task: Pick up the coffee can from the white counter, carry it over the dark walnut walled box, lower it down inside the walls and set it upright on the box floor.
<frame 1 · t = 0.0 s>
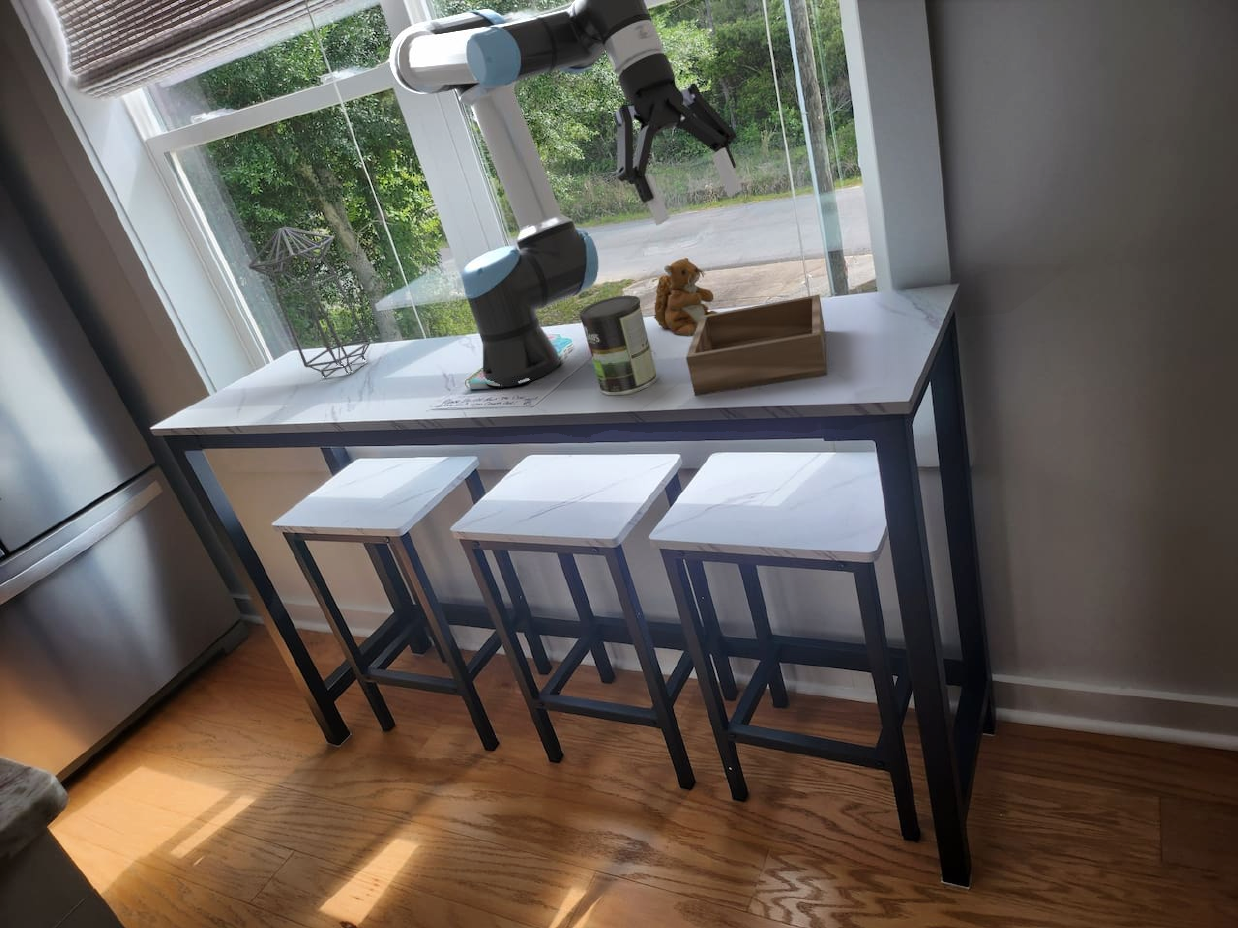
hand: (700, 207, 123), 28 cm above the table, tool tilted 20°, fingers open, 13 cm apart
coffee can: (629, 384, 147), on the table
stuffed squirrel: (684, 326, 170), on the table
walnut box: (762, 361, 141), on the table
geometric lantern: (342, 372, 205), on the table
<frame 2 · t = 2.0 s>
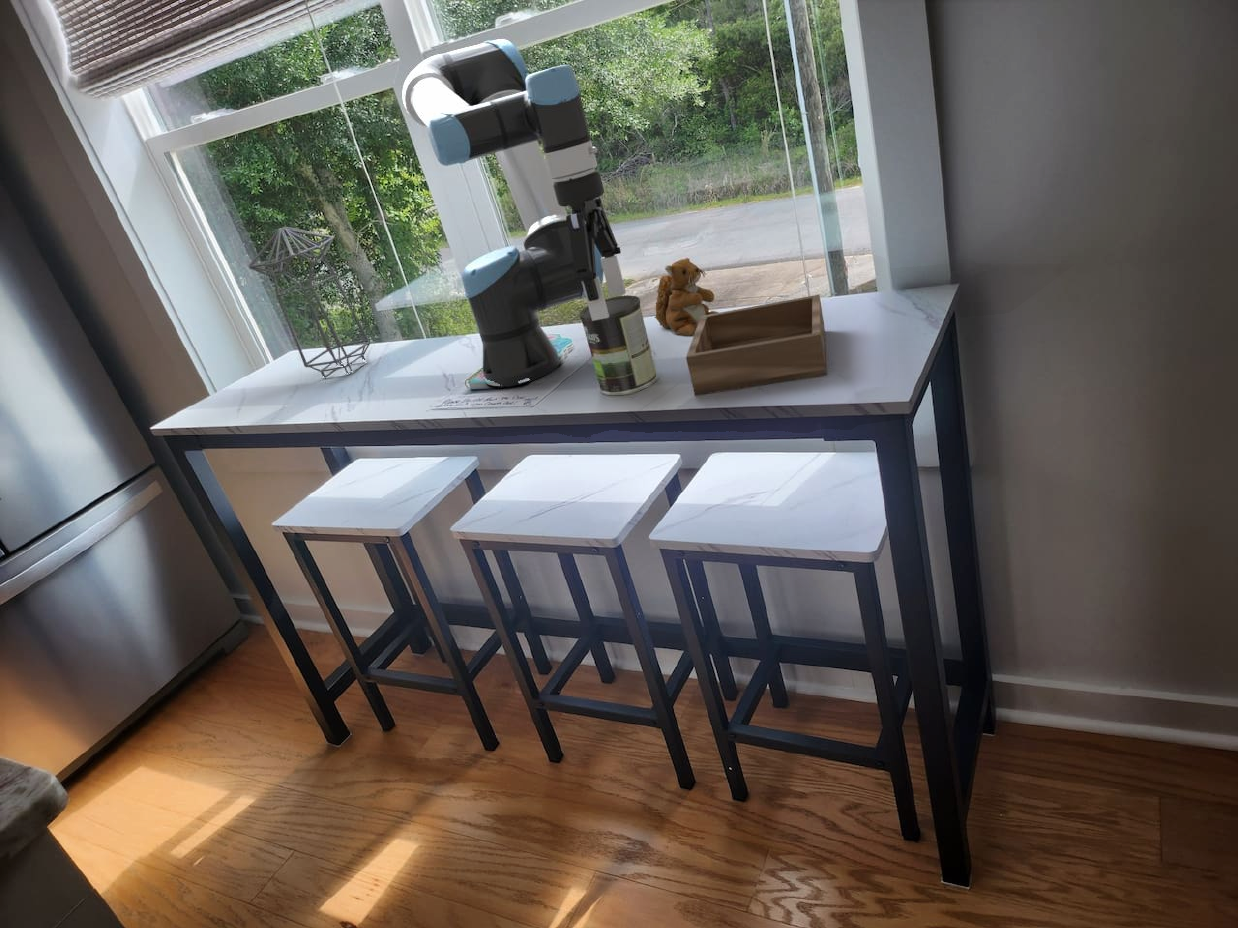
hand: (609, 306, 141), 14 cm above the table, tool pointing down, fingers open, 13 cm apart
nothing on the table moved.
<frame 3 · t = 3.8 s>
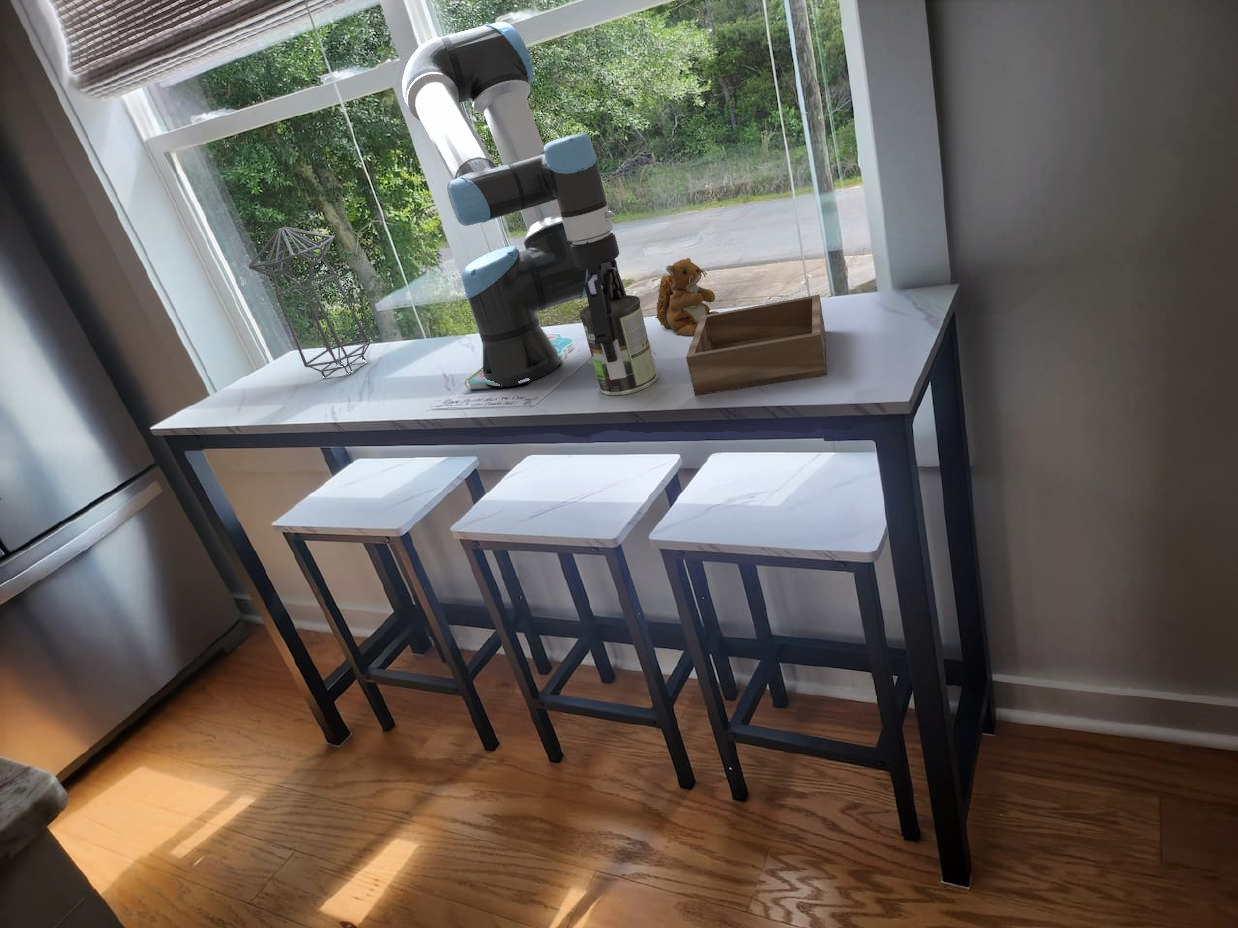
hand: (624, 366, 146), 3 cm above the table, tool pointing down, fingers closed on coffee can, 10 cm apart
coffee can: (629, 384, 147), on the table, touching gripper
everything else where it was.
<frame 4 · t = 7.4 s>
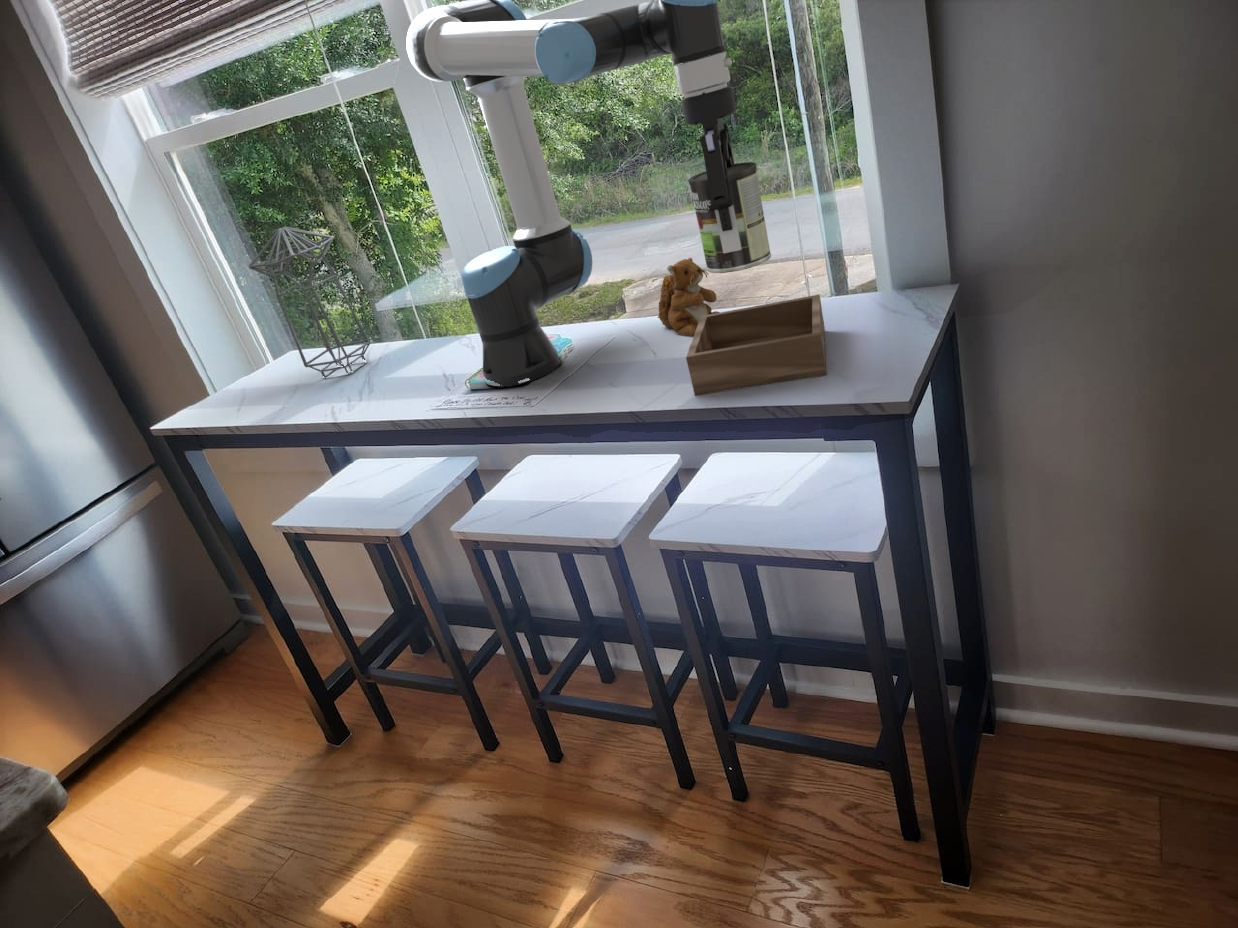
hand: (735, 242, 132), 20 cm above the table, tool pointing down, fingers closed on coffee can, 10 cm apart
coffee can: (739, 264, 134), point 17 cm above the table, touching gripper
everything else where it was.
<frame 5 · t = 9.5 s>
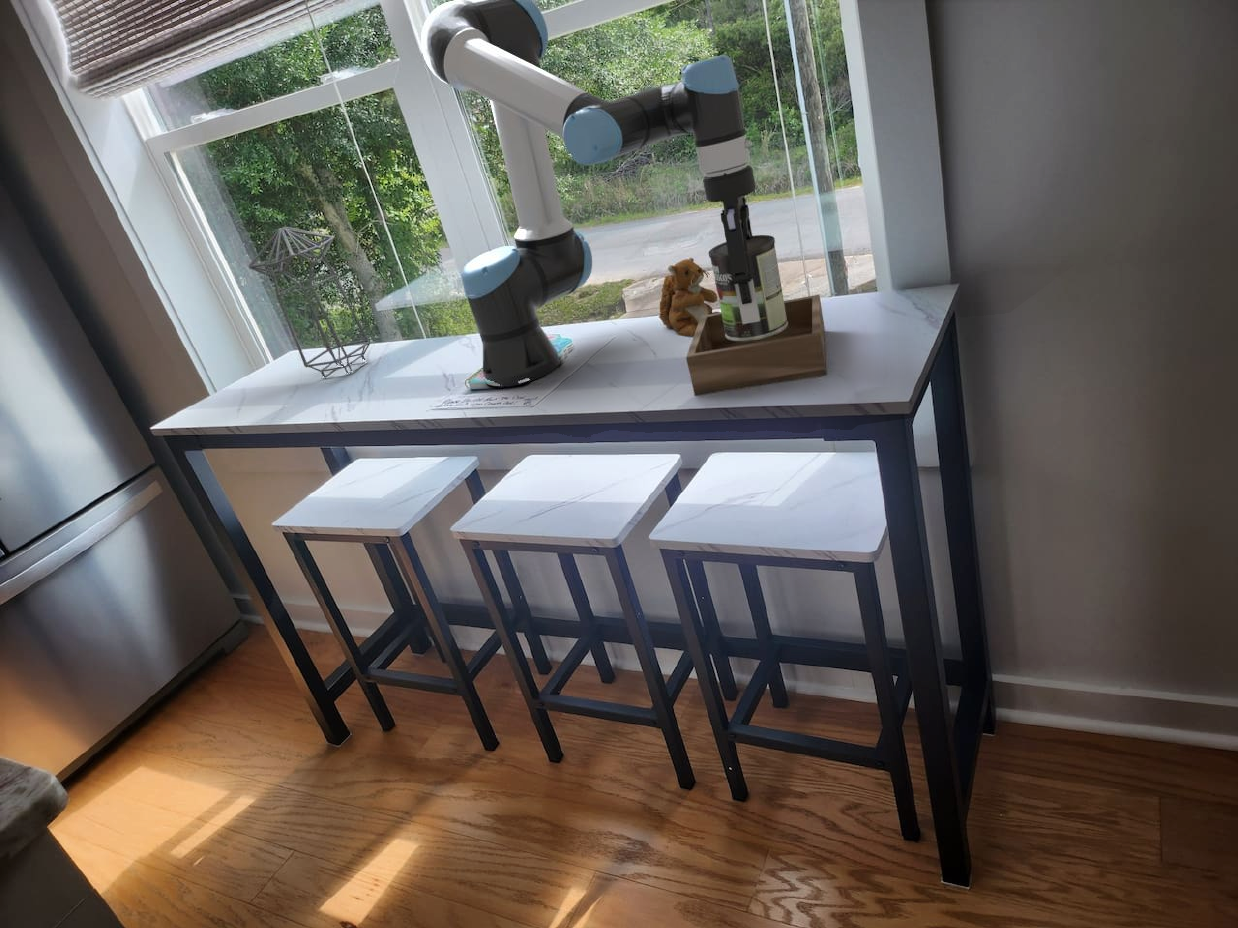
hand: (753, 311, 137), 9 cm above the table, tool pointing down, fingers closed on coffee can, 10 cm apart
coffee can: (757, 331, 138), point 5 cm above the table, touching gripper
when the fingers open (6 cm above the table, at t = 11.0 s): coffee can drops 2 cm, resting on walnut box.
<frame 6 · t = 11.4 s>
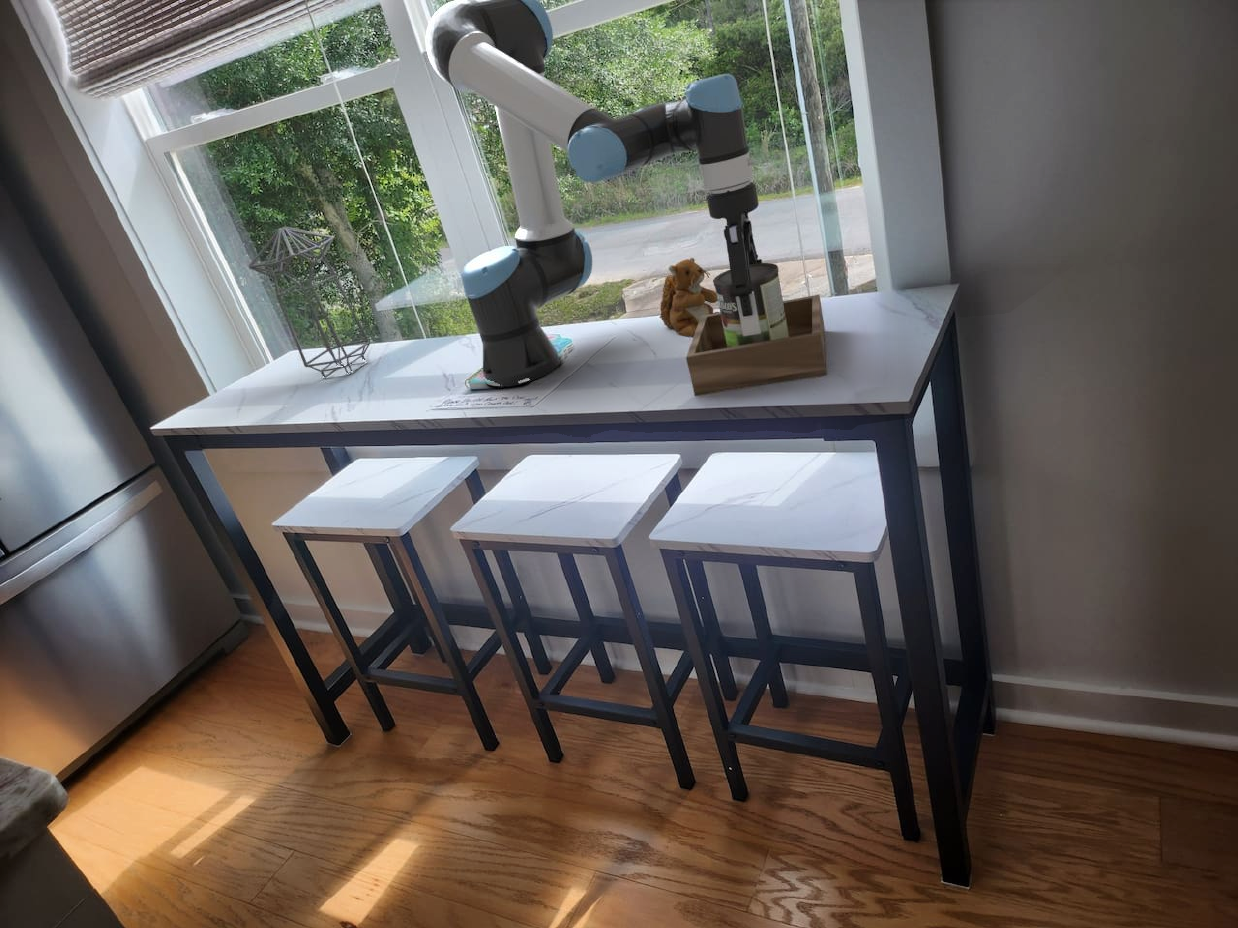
hand: (754, 320, 138), 7 cm above the table, tool pointing down, fingers open, 13 cm apart
coffee can: (761, 357, 140), point 1 cm above the table, touching walnut box
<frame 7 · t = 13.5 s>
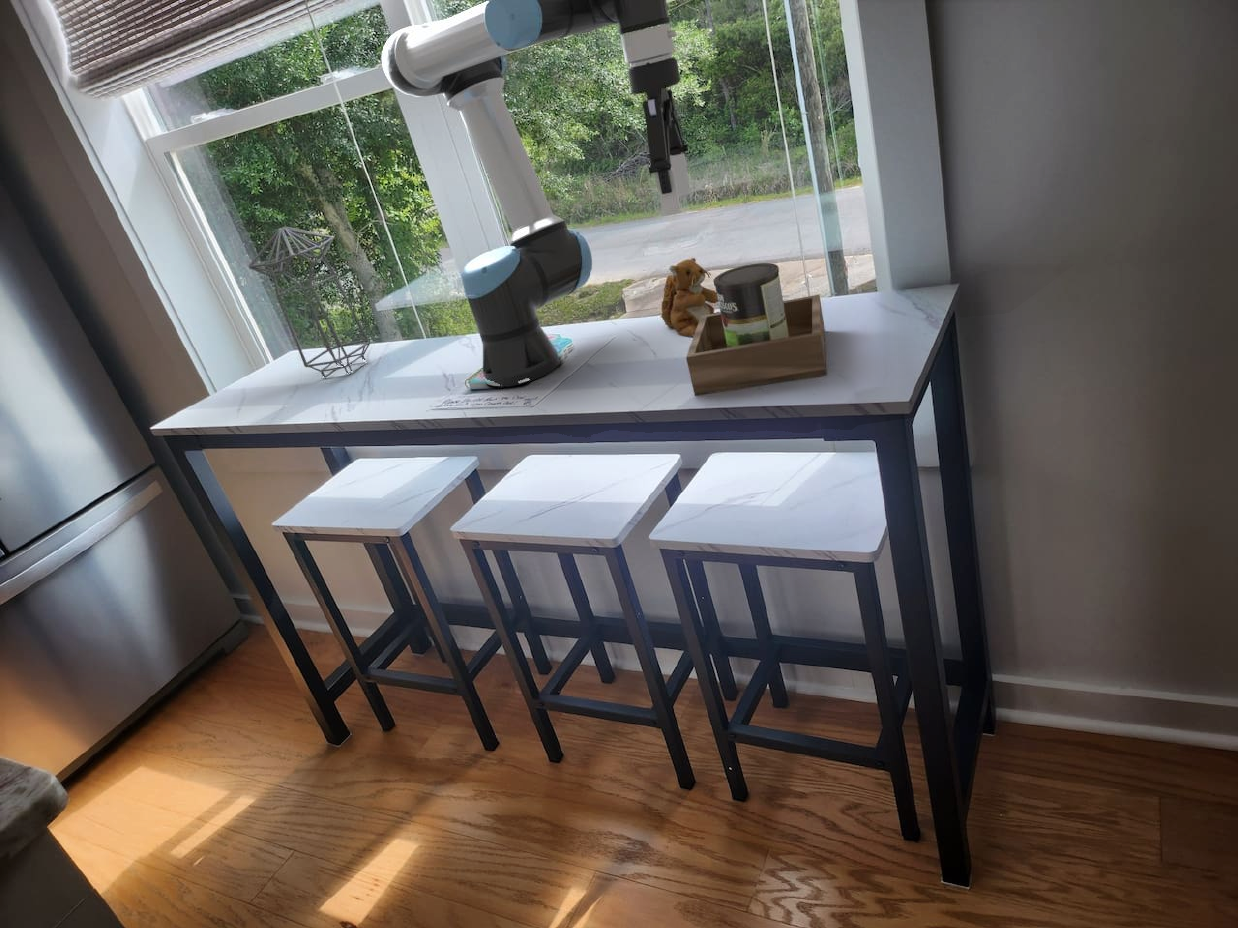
hand: (677, 204, 137), 27 cm above the table, tool pointing down, fingers open, 13 cm apart
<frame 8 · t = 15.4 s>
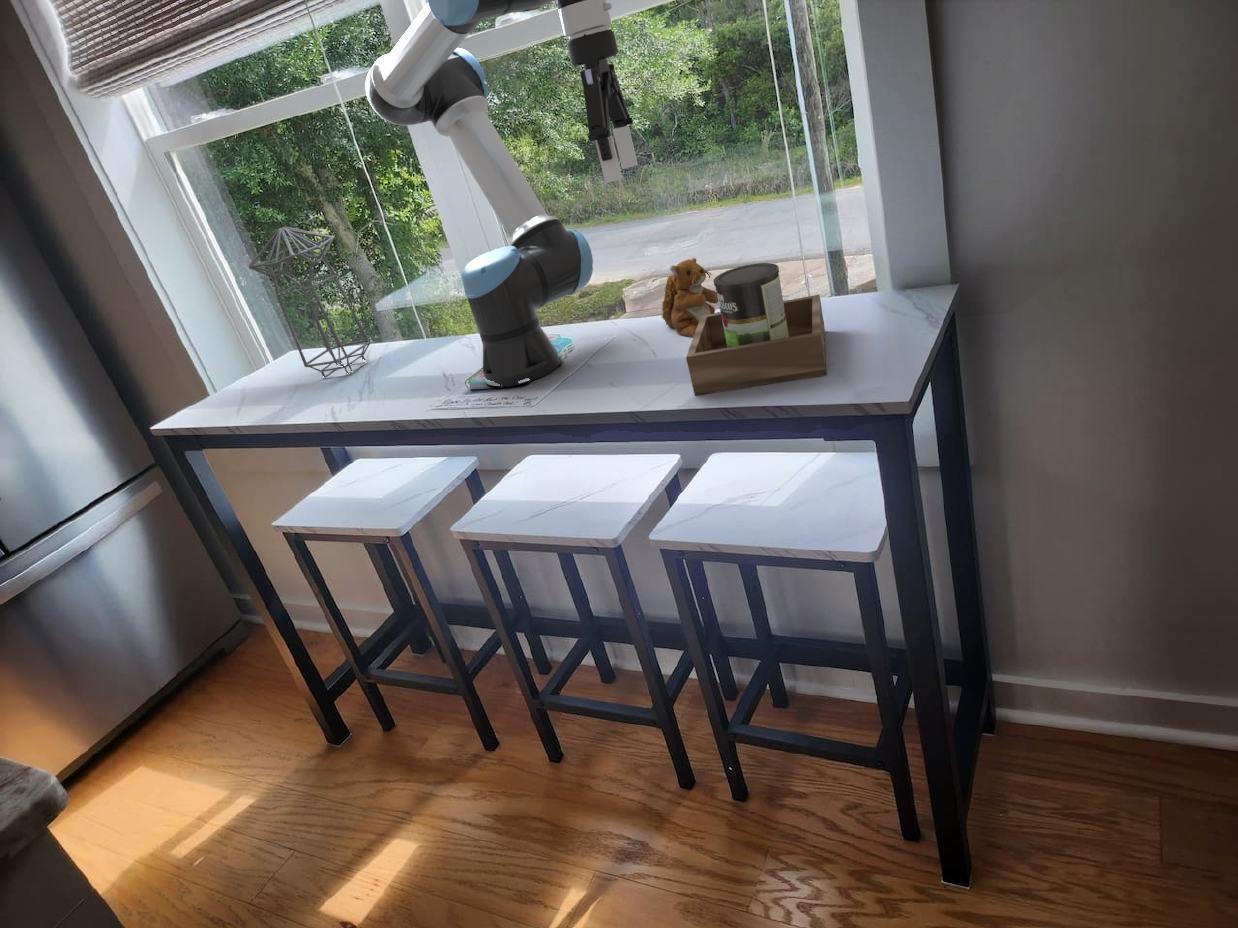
hand: (622, 174, 141), 33 cm above the table, tool pointing down, fingers open, 13 cm apart
at the end: coffee can inside the target area on the walnut box (0.1 cm from its centre), point 0.8 cm above the walnut box's base; coffee can tilted 0°; the gripper is holding nothing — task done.
